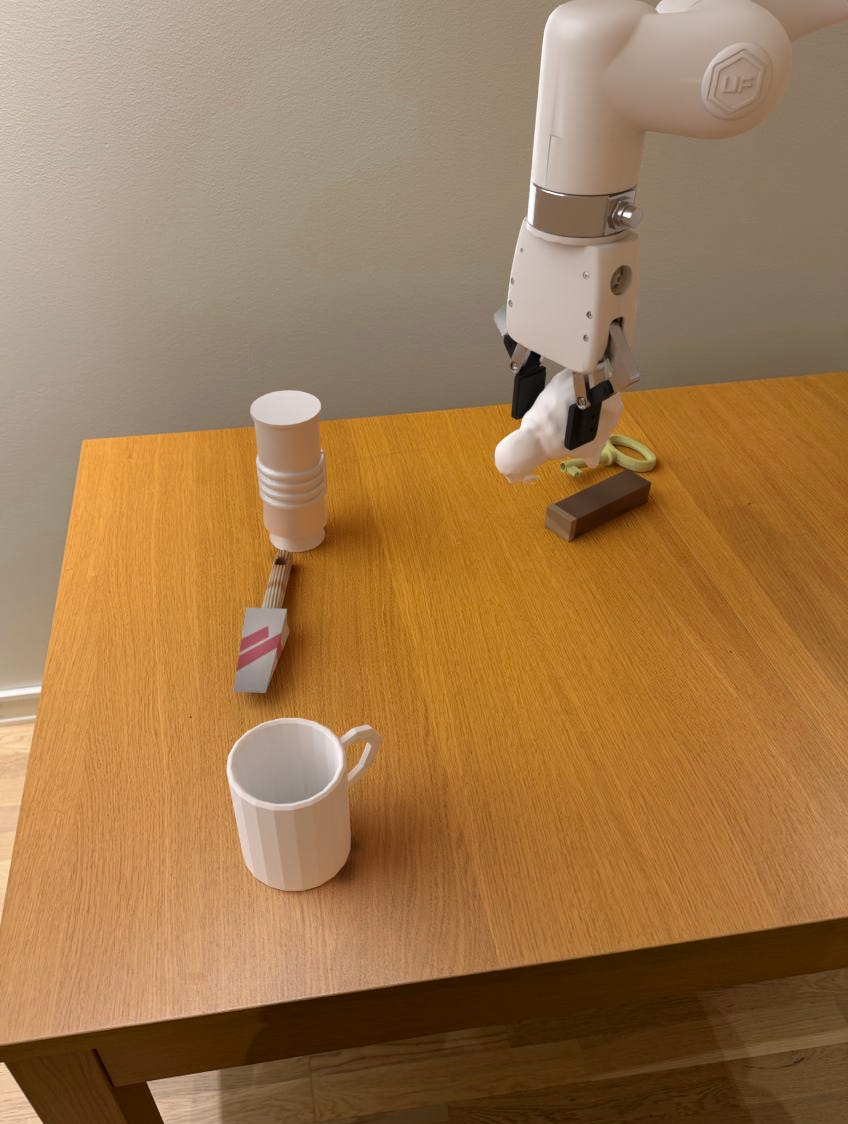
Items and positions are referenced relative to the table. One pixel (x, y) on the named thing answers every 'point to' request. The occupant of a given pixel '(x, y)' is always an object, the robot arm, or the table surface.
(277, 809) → the mug
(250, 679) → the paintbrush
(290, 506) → the white ribbed cylinder
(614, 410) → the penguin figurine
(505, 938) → the table surface
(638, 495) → the walnut bar
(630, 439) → the key
